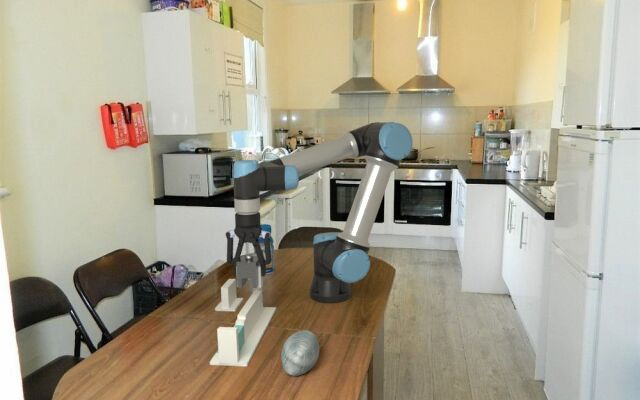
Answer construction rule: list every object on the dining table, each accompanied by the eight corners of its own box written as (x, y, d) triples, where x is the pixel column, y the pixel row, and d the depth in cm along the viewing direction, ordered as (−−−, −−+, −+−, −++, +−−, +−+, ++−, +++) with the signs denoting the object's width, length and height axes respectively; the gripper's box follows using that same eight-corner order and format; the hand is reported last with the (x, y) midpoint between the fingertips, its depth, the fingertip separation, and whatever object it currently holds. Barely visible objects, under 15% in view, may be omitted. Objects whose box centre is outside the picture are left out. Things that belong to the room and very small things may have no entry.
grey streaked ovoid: (288, 338, 131) (300, 314, 126) (318, 355, 130) (331, 332, 125) (267, 373, 119) (279, 348, 114) (300, 393, 118) (314, 368, 113)
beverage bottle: (278, 271, 199) (277, 224, 196) (266, 276, 192) (264, 229, 189) (263, 267, 204) (261, 222, 200) (250, 273, 197) (248, 226, 193)
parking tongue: (243, 300, 168) (242, 278, 166) (235, 311, 158) (234, 288, 156) (224, 299, 168) (223, 278, 167) (215, 310, 159) (213, 288, 157)
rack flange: (276, 309, 159) (275, 281, 157) (247, 366, 122) (245, 330, 121) (247, 308, 160) (246, 280, 158) (210, 364, 124) (207, 329, 122)
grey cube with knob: (262, 280, 148) (261, 252, 146) (256, 288, 141) (255, 258, 139) (243, 279, 148) (242, 251, 147) (237, 287, 142) (236, 258, 140)
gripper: (281, 210, 143) (282, 282, 147) (220, 209, 146) (223, 280, 150) (276, 215, 136) (278, 291, 140) (212, 214, 138) (216, 289, 142)
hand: (250, 285), depth 145 cm, fingers closed on grey cube with knob, 6 cm apart
